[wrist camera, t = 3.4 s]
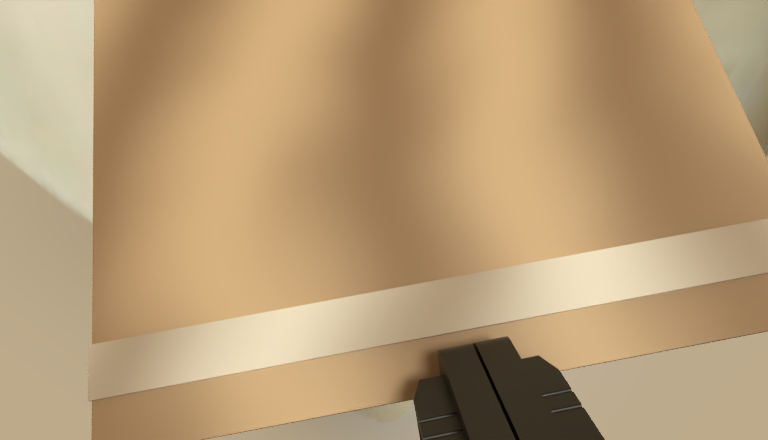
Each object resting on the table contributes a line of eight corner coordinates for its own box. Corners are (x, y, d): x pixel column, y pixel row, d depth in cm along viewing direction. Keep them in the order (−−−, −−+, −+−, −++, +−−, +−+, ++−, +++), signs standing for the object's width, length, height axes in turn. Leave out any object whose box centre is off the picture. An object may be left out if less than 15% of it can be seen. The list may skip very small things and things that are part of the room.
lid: (612, -113, 17) (626, -148, 16) (808, 323, 13) (846, 315, 11) (111, -29, 17) (91, -59, 16) (116, 456, 12) (88, 461, 11)
